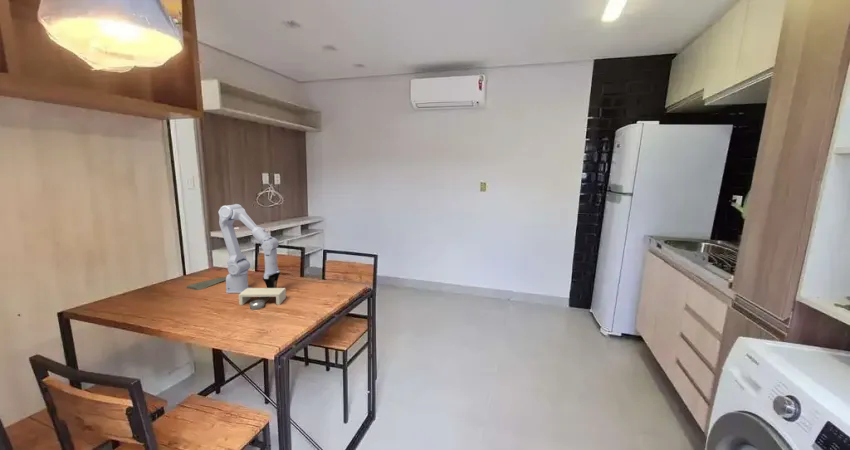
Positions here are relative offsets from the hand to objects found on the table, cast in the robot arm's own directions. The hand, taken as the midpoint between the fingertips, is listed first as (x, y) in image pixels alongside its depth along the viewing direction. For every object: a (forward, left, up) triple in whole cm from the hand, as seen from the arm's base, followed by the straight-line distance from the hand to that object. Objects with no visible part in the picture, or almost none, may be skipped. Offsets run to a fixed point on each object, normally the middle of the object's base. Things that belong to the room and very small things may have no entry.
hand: (272, 288), depth 175 cm
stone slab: (-38, +16, -3) cm, 41 cm away
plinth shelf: (0, -12, -2) cm, 12 cm away
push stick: (0, -7, -2) cm, 7 cm away
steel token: (0, -19, -2) cm, 19 cm away
